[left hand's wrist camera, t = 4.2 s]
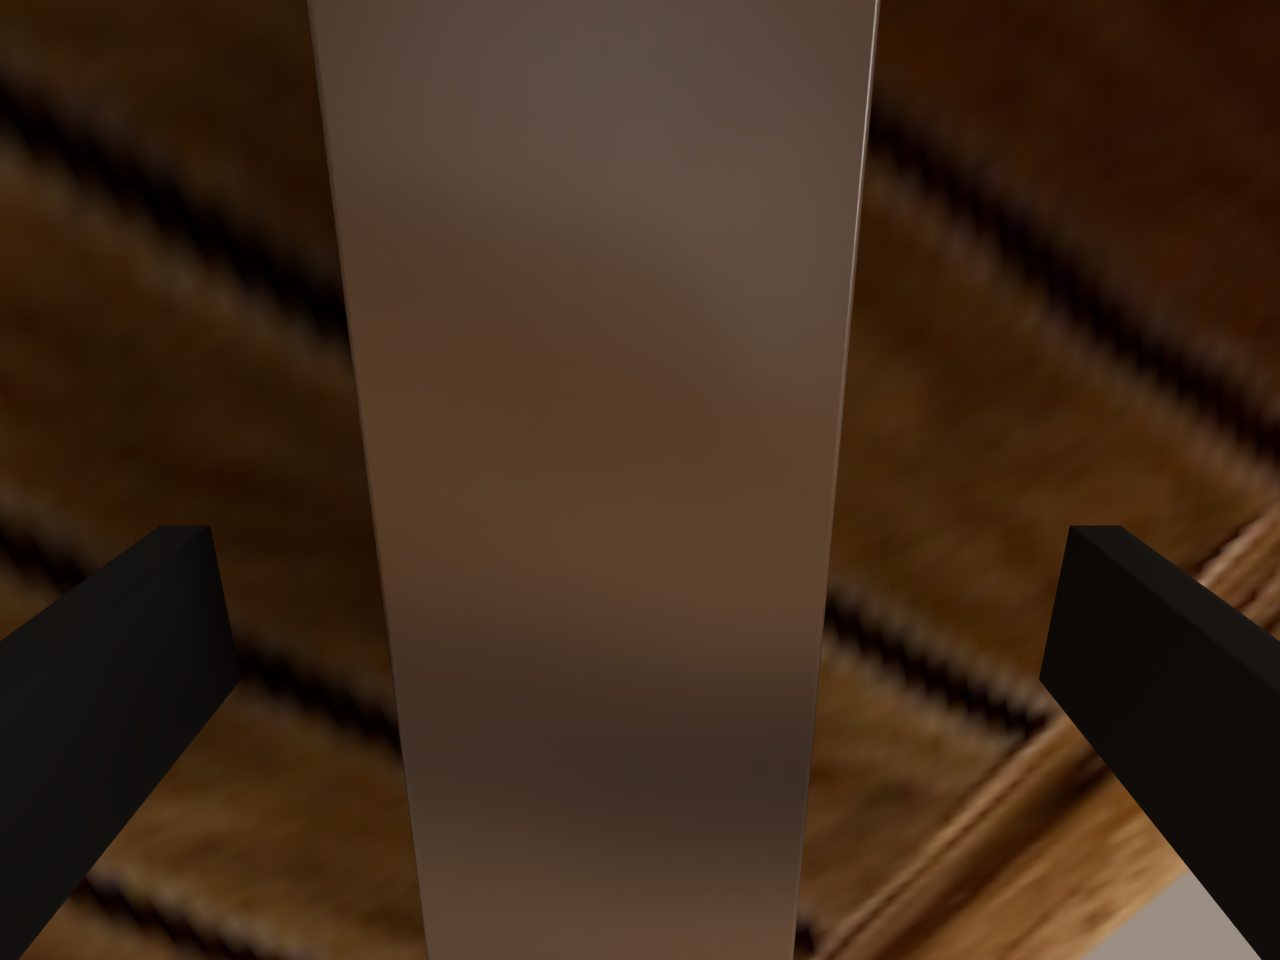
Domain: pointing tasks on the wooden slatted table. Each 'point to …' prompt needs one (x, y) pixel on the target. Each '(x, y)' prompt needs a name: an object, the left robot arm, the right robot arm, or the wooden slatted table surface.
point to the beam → (601, 444)
